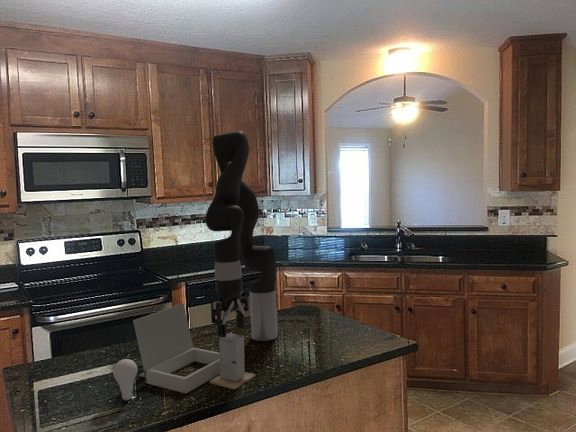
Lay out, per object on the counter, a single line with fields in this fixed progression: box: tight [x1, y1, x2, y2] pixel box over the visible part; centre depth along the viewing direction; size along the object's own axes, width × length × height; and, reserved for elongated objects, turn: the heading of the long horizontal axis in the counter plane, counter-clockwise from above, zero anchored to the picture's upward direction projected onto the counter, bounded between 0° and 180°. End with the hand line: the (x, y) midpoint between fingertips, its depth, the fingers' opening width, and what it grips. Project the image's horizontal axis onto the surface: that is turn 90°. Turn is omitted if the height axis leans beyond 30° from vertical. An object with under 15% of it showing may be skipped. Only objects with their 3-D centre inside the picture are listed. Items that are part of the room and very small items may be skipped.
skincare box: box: [218, 332, 246, 381], centre depth 140 cm, size 6×4×12 cm
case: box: [145, 347, 220, 394], centre depth 145 cm, size 20×15×4 cm
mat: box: [208, 371, 256, 390], centre depth 140 cm, size 10×9×1 cm
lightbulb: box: [112, 358, 138, 401], centre depth 129 cm, size 6×6×11 cm
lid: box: [132, 303, 194, 371], centre depth 149 cm, size 20×14×1 cm
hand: (231, 332), depth 139 cm, fingers open, 8 cm apart
